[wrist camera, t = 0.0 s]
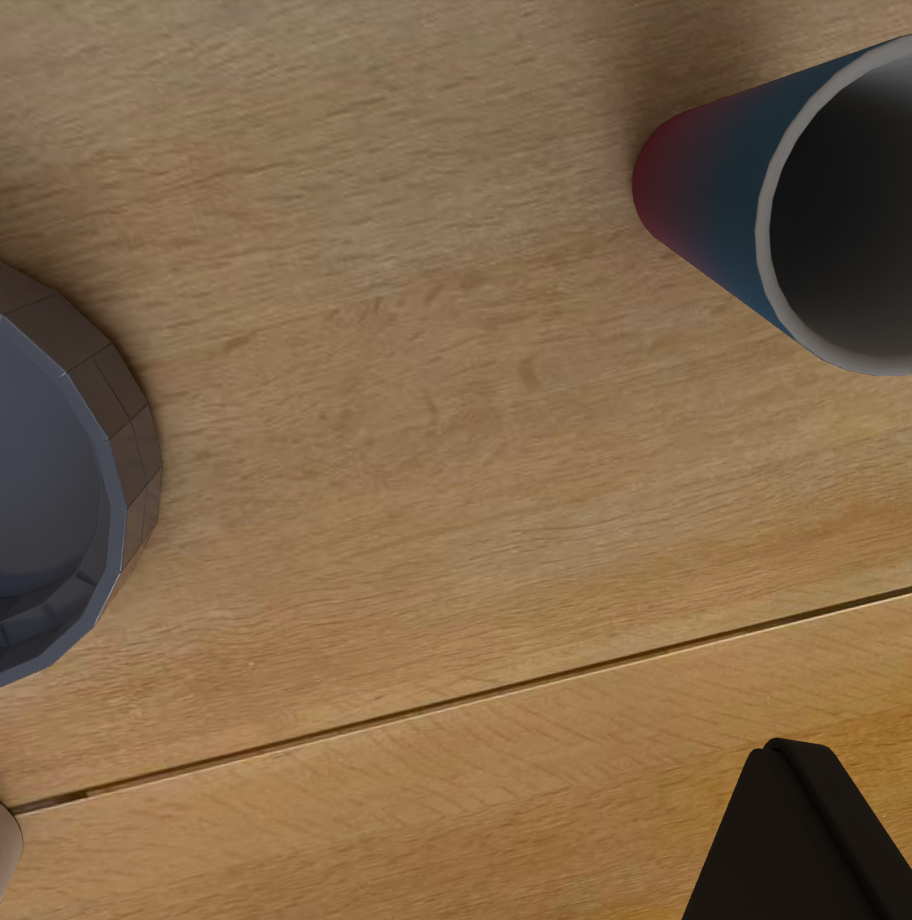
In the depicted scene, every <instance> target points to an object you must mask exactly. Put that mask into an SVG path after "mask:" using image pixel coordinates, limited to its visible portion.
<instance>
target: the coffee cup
mask: <svg viewBox="0 0 912 920" xmlns="http://www.w3.org/2000/svg"><path fill="white" fill-rule="evenodd" d="M22 846H23V843H22V835H21V832H20V829H19V826H18V824H17V822H16V821H15V819H14V818H13V816H12V815H11V814H10V812H9V811H8V810H7V809H6V808H5V807H4V806H3V805H2V804H1V803H0V902H1V900H2V898H3V895H4V893H5V891H6V889H7V886H8V884H9V882H10V880H11V877H12V875H13V873H14V871H15V869H16V866H17V864H18V862H19V859H20V857H21V853H22Z"/></svg>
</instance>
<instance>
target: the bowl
mask: <svg viewBox="0 0 912 920" xmlns="http://www.w3.org/2000/svg"><path fill="white" fill-rule="evenodd" d="M162 463H163V462H162V458H161V453H160V449H159V445H158V441H157V437H156V433H155V428H154V424H153V420H152V416H151V412H150V408H149V404H148V403H147V400H146V398H145V396H144V395H143V393H142V391H141V390H140V388H139V386H138V385H137V383H136V381H135V380H134V378H133V376H132V375H131V373H130V371H129V370H128V368H127V366H126V365H125V363H124V361H123V360H122V358H121V356H120V355H119V353H118V351H117V349H116V348H115V346H114V345H113V344H111V341H110V340H109V339H108V338H107V337H106V336H104V335H103V334H102V333H101V332H100V331H99V330H98V329H97V328H96V327H95V326H94V325H93V324H92V323H91V322H89V321H88V320H87V319H86V318H85V317H84V316H83V315H82V314H81V313H80V312H79V311H78V310H77V309H76V308H74V307H73V306H72V305H71V304H70V303H69V302H68V301H67V300H66V299H65V298H64V297H63V296H62V295H61V294H59V293H58V292H57V291H55V290H53V289H51V288H49V287H48V286H46V285H44V284H42V283H40V282H38V281H36V280H34V279H32V278H30V277H28V276H27V275H25V274H23V273H21V272H19V271H17V270H15V269H13V268H11V267H9V266H7V265H5V264H4V263H2V262H0V687H3V686H5V685H7V684H10V683H12V682H14V681H17V680H19V679H22V678H24V677H26V676H29V675H31V674H33V673H36V672H38V671H41V670H43V669H45V668H48V667H49V666H51V665H53V664H54V663H55V662H56V661H57V660H58V659H59V658H60V657H61V656H63V655H64V654H65V653H66V652H67V651H68V650H69V649H70V648H71V647H73V646H74V645H75V644H76V643H77V642H78V641H79V640H80V639H81V638H82V637H84V636H85V635H86V634H87V633H88V632H89V631H90V630H91V629H92V628H94V626H95V625H96V624H97V622H98V621H99V619H100V618H101V616H102V615H103V613H104V612H105V610H106V609H107V608H108V606H109V605H110V603H111V602H112V600H113V599H114V597H115V596H116V594H117V593H118V591H119V590H120V589H121V587H122V586H123V584H124V583H125V581H126V580H127V578H128V577H129V575H130V574H131V572H132V571H133V569H134V567H135V565H136V563H137V561H138V559H139V557H140V555H141V554H142V552H143V550H144V548H145V546H146V544H147V542H148V540H149V538H150V536H151V534H152V532H153V530H154V528H155V526H156V524H157V519H158V509H159V500H160V490H161V481H162V471H163V465H162Z"/></svg>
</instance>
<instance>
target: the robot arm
mask: <svg viewBox="0 0 912 920" xmlns="http://www.w3.org/2000/svg"><path fill="white" fill-rule="evenodd" d="M682 920H912V869H911V868H910V866H909V865H908V863H907V862H906V860H905V859H904V857H903V856H902V854H901V853H900V851H899V850H898V848H897V847H896V845H895V844H894V842H893V841H892V839H891V838H890V836H889V835H888V833H887V832H886V830H885V829H884V827H883V826H882V824H881V823H880V821H879V820H878V818H877V817H876V815H875V814H874V812H873V811H872V809H871V808H870V806H869V805H868V803H867V802H866V800H865V799H864V797H863V796H862V794H861V793H860V791H859V790H858V788H857V787H856V785H855V784H854V782H853V781H852V779H851V778H850V776H849V775H848V773H847V772H846V770H845V769H844V767H843V766H842V764H841V763H840V761H839V760H838V758H837V757H836V755H835V754H834V753H833V752H832V751H831V749H830V748H829V747H826V746H824V745H820V744H814V743H807V742H801V741H795V740H789V739H783V738H773V739H770V740H769V741H768V742H767V743H766V744H765V746H764V748H763V749H760V748H757V749H754V750H753V751H752V752H751V753H750V754H749V756H748V758H747V760H746V762H745V765H744V767H743V770H742V772H741V774H740V777H739V779H738V782H737V784H736V787H735V789H734V792H733V794H732V797H731V799H730V802H729V804H728V806H727V809H726V811H725V814H724V816H723V819H722V821H721V824H720V826H719V829H718V831H717V834H716V836H715V838H714V841H713V843H712V846H711V848H710V851H709V853H708V856H707V858H706V861H705V863H704V866H703V868H702V871H701V873H700V875H699V878H698V880H697V883H696V885H695V888H694V890H693V893H692V895H691V898H690V900H689V903H688V905H687V907H686V910H685V912H684V915H683V917H682Z"/></svg>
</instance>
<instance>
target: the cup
mask: <svg viewBox="0 0 912 920" xmlns="http://www.w3.org/2000/svg"><path fill="white" fill-rule="evenodd" d="M632 190H633V198H634V204H635V207H636V210H637V213H638V216H639V217H640V219H641V221H642V223H643V224H644V226H645V227H646V228H647V230H648V231H649V232H650V233H651V234H652V235H653V236H654V237H655V238H657V239H658V240H659V241H661V242H662V243H663V244H665V245H666V246H667V247H669V248H670V249H672V250H673V251H674V252H676V253H677V254H678V255H680V256H681V257H682V258H684V259H685V260H686V261H688V262H689V263H691V264H692V265H693V266H695V267H696V268H697V269H699V270H700V271H701V272H703V273H704V274H705V275H707V276H708V277H710V278H711V279H712V280H714V281H715V282H716V283H718V284H719V285H720V286H722V287H723V288H724V289H726V290H727V291H729V292H730V293H731V294H733V295H734V296H735V297H737V298H738V299H739V300H741V301H742V302H743V303H745V304H746V305H748V306H749V307H750V308H752V309H753V310H754V311H756V312H757V313H758V314H760V315H761V316H762V317H764V318H765V319H767V320H768V321H769V322H771V323H772V324H773V325H775V326H776V327H777V328H779V329H780V330H781V331H783V332H784V333H786V334H787V335H788V336H790V337H791V338H792V339H794V340H795V341H796V342H798V343H799V344H801V345H802V346H803V347H805V348H806V349H807V350H809V351H810V352H812V353H813V354H814V355H816V356H817V357H819V358H820V359H822V360H824V361H826V362H829V363H831V364H833V365H836V366H838V367H840V368H843V369H845V370H848V371H853V372H858V373H864V374H869V375H874V376H906V375H911V374H912V34H908V35H904V36H900V37H897V38H894V39H891V40H889V41H886V42H883V43H880V44H877V45H874V46H871V47H868V48H866V49H863V50H860V51H857V52H854V53H851V54H848V55H845V56H843V57H840V58H837V59H834V60H831V61H828V62H825V63H823V64H820V65H817V66H814V67H811V68H808V69H805V70H802V71H800V72H797V73H794V74H791V75H788V76H785V77H782V78H780V79H777V80H774V81H771V82H768V83H765V84H762V85H759V86H757V87H754V88H751V89H748V90H745V91H742V92H739V93H737V94H734V95H731V96H728V97H725V98H722V99H719V100H716V101H714V102H711V103H708V104H705V105H702V106H699V107H696V108H693V109H691V110H688V111H685V112H683V113H681V114H678V115H676V116H674V117H672V118H671V119H669V120H668V121H667V122H665V123H664V124H662V125H661V126H660V127H659V128H658V129H657V130H656V131H655V132H654V133H653V134H652V135H651V136H650V138H649V139H648V141H647V142H646V144H645V145H644V147H643V148H642V151H641V153H640V155H639V157H638V159H637V162H636V166H635V170H634V174H633V187H632Z"/></svg>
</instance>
